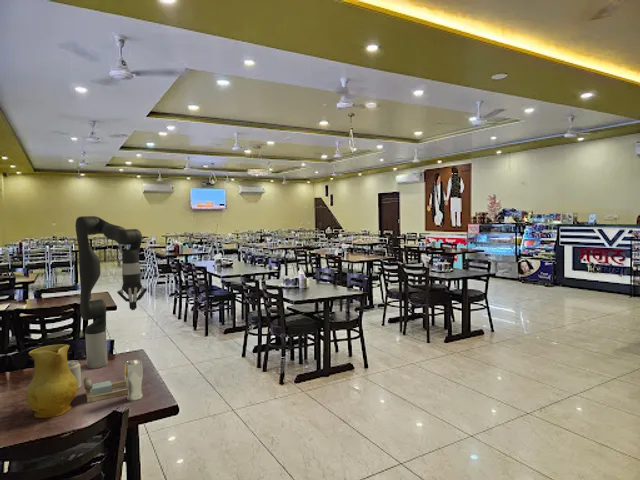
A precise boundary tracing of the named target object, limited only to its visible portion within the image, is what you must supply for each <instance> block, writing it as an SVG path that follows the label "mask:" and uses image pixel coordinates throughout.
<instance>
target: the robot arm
mask: <svg viewBox="0 0 640 480" xmlns="http://www.w3.org/2000/svg"><path fill="white" fill-rule="evenodd" d="M74 226H75V235H76V241H77V247H78V249H77V250H78V265H79V266H78V268H79V273H78V274H79V282H80V283H79V284H80V303H79V307H80V317H81V318H82V320H84V321H90V320H94V321H93V322H92V323H90V324H89V325H87V326H85V328H84V333H85V334H84V335H85V337H84V338H85V352H86V367H87V368H88V369H98V368H103V367H105V366H107V365H108V363H109V361H108V342H107V306H106V302H105V300H104V299H94V300H90V299H91V294H92V292H93V291H92V290H93V289H94V287H95V285H96V283H97V282H98V281H99V278H100V276H101V261H100V258H99V257H98V255H97V254H96V252H95V251H94V250H93V248H92V247H91V245H90V242H89V236H92V235H95V236H96V235H100V234H102V235H104V237H105V238H106V239H109V240H112V241H115V242H116V243H118V245H121V246H128V245H129V248H128V249H125V250H123V251H122V252H121V258H122V259H121V260H122V261H121V262H122V265H121V270H122V271H121V273H122V285H121V289H119V290H117V291H116V293H117V294H118V295H119V296H120V297H121V298H122V299H123V300H124V301H125V302H128V303H129V304H128V305H129V306H128V307H129V310H131V311H135V310H137V302H139V301H140V300H142V298H143V297H144V295H145V294H146V292H147V291H148V289H147V288H145V287H143V285H142V282H141V280H142V279H141V278H142V277H141V264H140V250H141V246H142V241H143V235H142V232H141V231H140V230H139V229H138V228H131V229H130V228H125V227H123V226H119V225H116V224H113V223H110V222H107V221H106V220H104V219H103V218H101V217H99V216H96V215H89V216H88V215H86V216H78V217H77V218H76V220H75V225H74ZM139 292H140V293H139ZM124 293H125V294H126V295H127V297H128V298H127V297H126V296H125V295H124ZM138 293H139V294H138Z"/></svg>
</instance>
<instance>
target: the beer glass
mask: <svg viewBox="0 0 640 480" xmlns="http://www.w3.org/2000/svg"><path fill="white" fill-rule="evenodd" d="M123 371H124V381H126V387H127V388H126V389H127V390H128V394H126V399H127V401H131V402H133V401H137V400H140V399H142V398H143V397H144V394H143V391H142V390H143V389H142V383H143V376H144V375H143V374H144V372H143V371H144V369H143V361H142V360H141V359H130V360H128V361H125V362H124V369H123Z"/></svg>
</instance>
